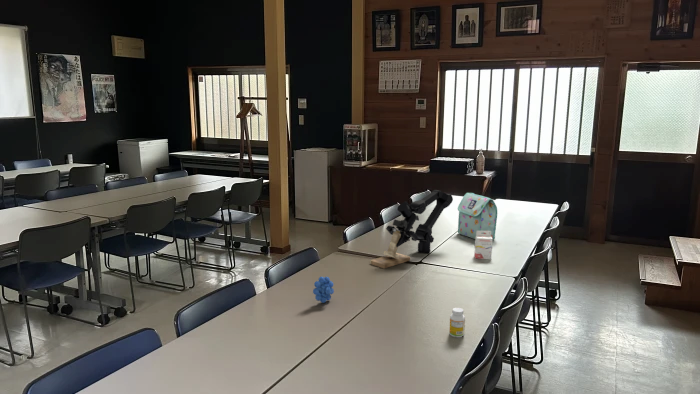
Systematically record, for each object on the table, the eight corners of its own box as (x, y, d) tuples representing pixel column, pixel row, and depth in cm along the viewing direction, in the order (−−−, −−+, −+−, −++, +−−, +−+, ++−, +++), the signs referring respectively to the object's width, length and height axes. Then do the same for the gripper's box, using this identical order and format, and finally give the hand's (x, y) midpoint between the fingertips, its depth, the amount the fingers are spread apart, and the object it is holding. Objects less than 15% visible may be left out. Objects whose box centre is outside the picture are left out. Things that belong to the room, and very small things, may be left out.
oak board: (396, 256, 279) (396, 252, 279) (410, 260, 272) (410, 256, 272) (370, 263, 266) (370, 260, 266) (384, 268, 259) (384, 264, 259)
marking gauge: (389, 256, 272) (396, 231, 274) (397, 258, 268) (405, 233, 269) (383, 254, 269) (391, 229, 270) (391, 256, 265) (399, 231, 266)
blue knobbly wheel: (321, 309, 208) (320, 281, 206) (309, 305, 213) (309, 278, 211) (340, 301, 217) (340, 274, 215) (329, 297, 221) (329, 271, 219)
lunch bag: (454, 233, 326) (455, 192, 321) (474, 230, 333) (476, 190, 328) (477, 242, 306) (479, 198, 301) (498, 239, 313) (501, 196, 308)
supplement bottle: (453, 329, 190) (454, 305, 189) (466, 334, 187) (468, 309, 185) (446, 334, 186) (447, 310, 184) (460, 339, 183) (461, 314, 181)
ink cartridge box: (475, 258, 275) (476, 232, 272) (474, 256, 280) (475, 230, 277) (491, 259, 274) (493, 233, 271) (490, 256, 279) (491, 230, 276)
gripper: (388, 210, 276) (374, 234, 271) (414, 216, 263) (399, 241, 258) (398, 222, 283) (384, 245, 278) (424, 228, 269) (409, 253, 264)
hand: (394, 246), depth 269 cm, fingers closed on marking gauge, 3 cm apart
